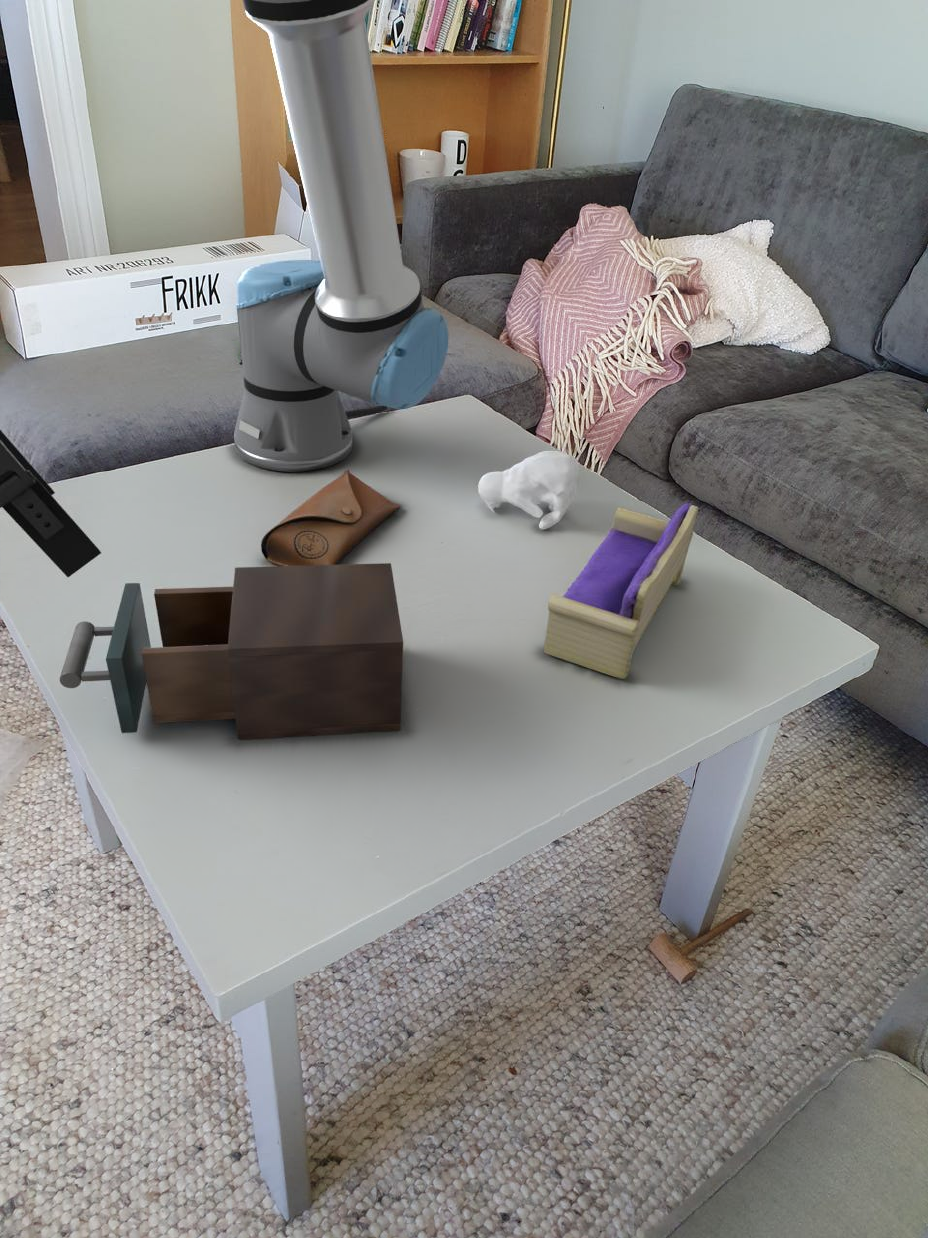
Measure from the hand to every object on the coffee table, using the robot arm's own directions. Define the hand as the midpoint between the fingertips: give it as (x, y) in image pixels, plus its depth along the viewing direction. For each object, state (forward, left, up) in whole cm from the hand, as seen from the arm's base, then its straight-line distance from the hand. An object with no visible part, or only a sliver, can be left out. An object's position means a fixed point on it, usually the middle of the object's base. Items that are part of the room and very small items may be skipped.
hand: (60, 530), depth 67 cm
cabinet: (-17, +7, -18) cm, 26 cm away
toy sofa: (-48, +14, -18) cm, 53 cm away
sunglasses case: (-33, -15, -18) cm, 40 cm away
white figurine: (-54, -7, -18) cm, 57 cm away
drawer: (-6, +1, -17) cm, 19 cm away
